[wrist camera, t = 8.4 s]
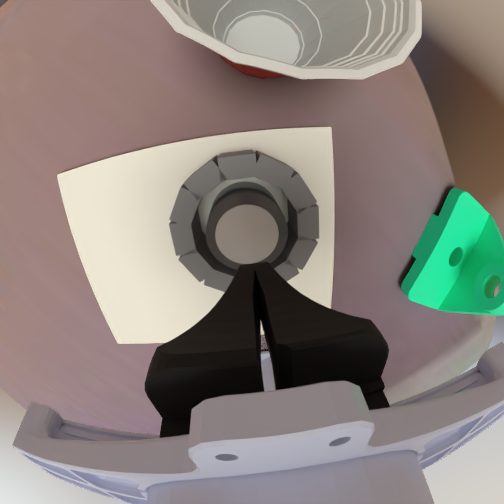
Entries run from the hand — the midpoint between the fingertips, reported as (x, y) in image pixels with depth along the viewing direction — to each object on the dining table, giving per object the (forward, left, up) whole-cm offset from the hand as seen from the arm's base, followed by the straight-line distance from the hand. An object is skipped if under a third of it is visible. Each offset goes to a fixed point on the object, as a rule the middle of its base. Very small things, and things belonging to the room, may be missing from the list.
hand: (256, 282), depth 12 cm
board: (-3, +4, -10) cm, 11 cm away
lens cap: (0, 0, -9) cm, 9 cm away
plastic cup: (+13, -3, -10) cm, 17 cm away
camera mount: (-5, -20, -10) cm, 23 cm away
